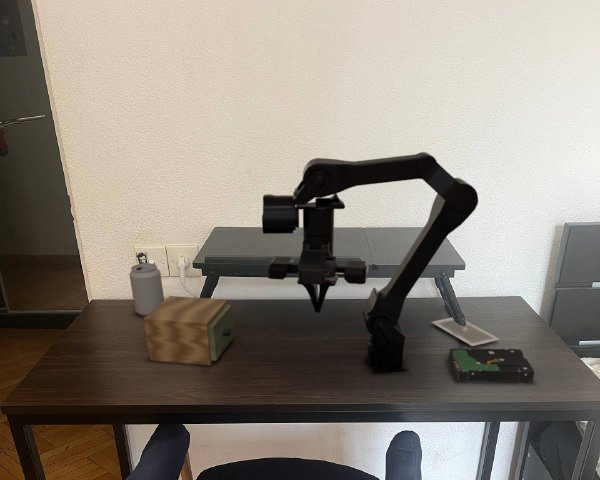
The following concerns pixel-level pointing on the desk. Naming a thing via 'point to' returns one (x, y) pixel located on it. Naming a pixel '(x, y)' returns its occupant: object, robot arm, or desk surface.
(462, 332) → the touchpad
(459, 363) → the disk drive
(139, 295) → the can
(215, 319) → the drawer
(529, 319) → the desk surface
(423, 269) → the robot arm
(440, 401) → the desk surface
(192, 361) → the cabinet
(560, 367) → the desk surface
